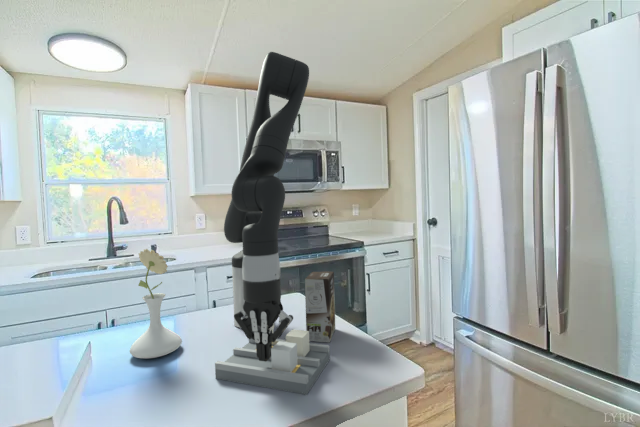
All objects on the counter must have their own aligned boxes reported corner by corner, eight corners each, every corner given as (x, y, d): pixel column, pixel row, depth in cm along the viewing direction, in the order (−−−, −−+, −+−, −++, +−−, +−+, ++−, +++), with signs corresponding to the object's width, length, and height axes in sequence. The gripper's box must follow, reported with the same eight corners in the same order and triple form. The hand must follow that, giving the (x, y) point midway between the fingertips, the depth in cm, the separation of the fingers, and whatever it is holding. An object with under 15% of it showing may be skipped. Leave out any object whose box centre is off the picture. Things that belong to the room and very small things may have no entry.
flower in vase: (190, 350, 82) (185, 248, 80) (140, 369, 73) (134, 255, 72) (167, 336, 90) (163, 244, 89) (120, 351, 82) (115, 250, 81)
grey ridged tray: (215, 378, 68) (214, 363, 68) (251, 348, 82) (250, 335, 82) (306, 394, 62) (306, 377, 62) (329, 359, 75) (329, 345, 75)
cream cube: (286, 355, 72) (285, 335, 72) (293, 348, 76) (292, 329, 76) (303, 358, 71) (302, 337, 71) (309, 350, 74) (309, 331, 74)
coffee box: (330, 343, 84) (329, 279, 83) (305, 341, 85) (303, 278, 84) (336, 328, 93) (334, 270, 92) (313, 327, 94) (311, 270, 93)
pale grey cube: (271, 370, 66) (271, 348, 66) (279, 361, 70) (279, 341, 70) (290, 373, 65) (289, 351, 65) (297, 364, 68) (296, 343, 68)
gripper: (222, 278, 67) (226, 363, 67) (283, 281, 62) (286, 373, 63) (243, 270, 74) (246, 347, 74) (299, 273, 69) (301, 355, 70)
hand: (264, 359), depth 69 cm, fingers closed
